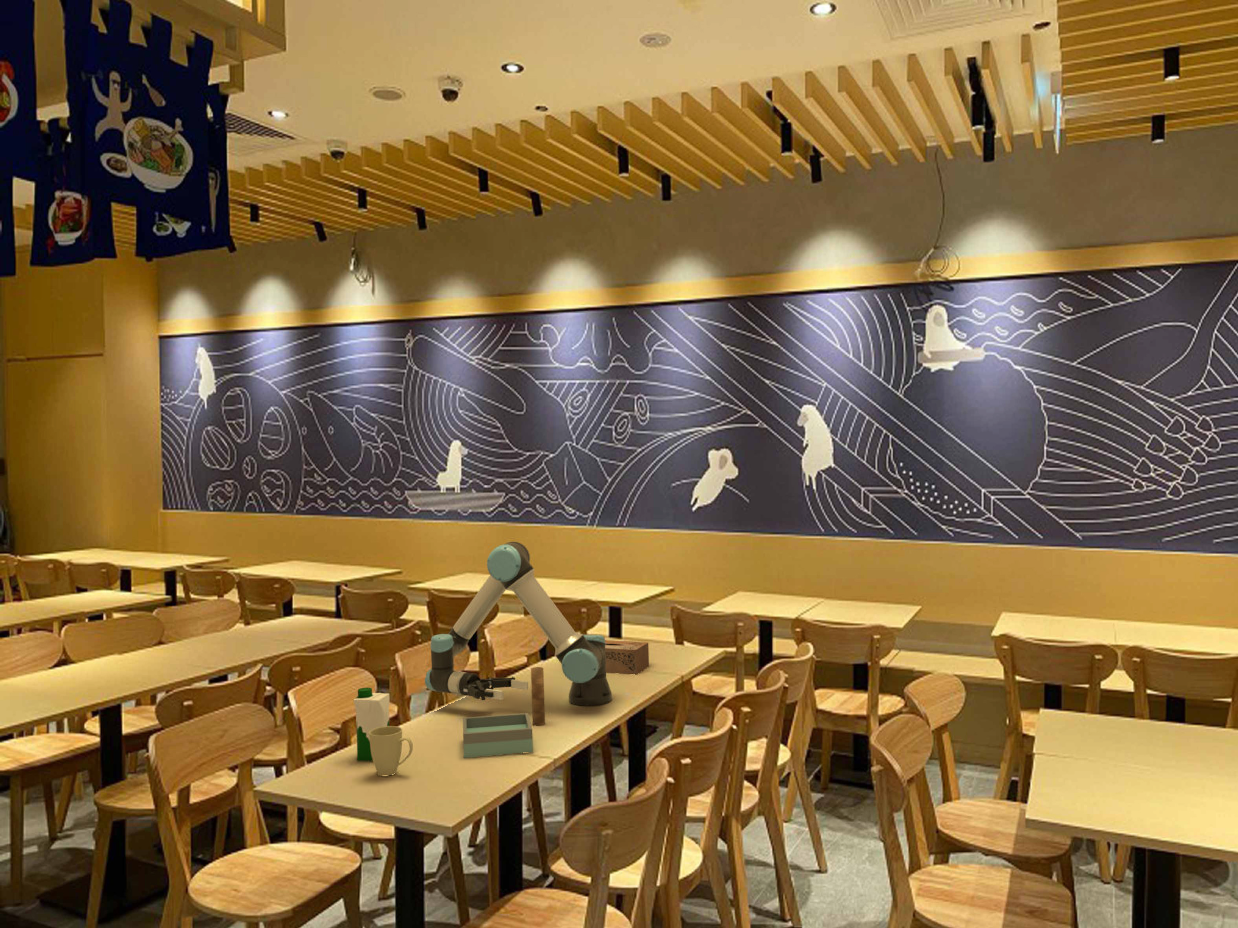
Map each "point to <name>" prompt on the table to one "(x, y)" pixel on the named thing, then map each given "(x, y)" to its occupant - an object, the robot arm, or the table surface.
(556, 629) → the robot arm
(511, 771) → the table surface
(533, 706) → the peg
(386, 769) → the mug
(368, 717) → the milk carton
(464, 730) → the box
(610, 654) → the tissue box cover
